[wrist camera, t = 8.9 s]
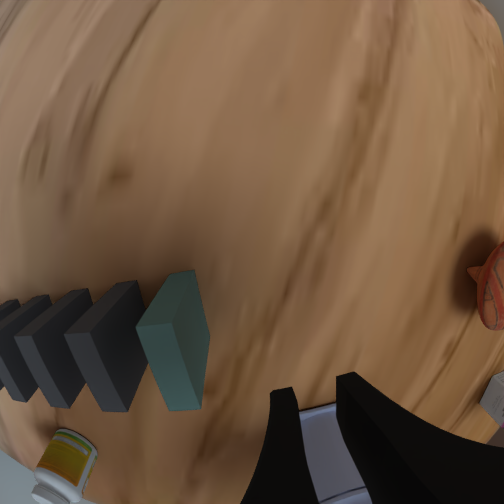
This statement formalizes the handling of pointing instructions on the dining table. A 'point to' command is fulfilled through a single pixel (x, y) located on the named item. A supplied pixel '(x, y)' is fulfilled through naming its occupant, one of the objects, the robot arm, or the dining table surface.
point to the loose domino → (177, 341)
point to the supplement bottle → (64, 469)
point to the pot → (491, 289)
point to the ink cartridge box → (495, 398)
